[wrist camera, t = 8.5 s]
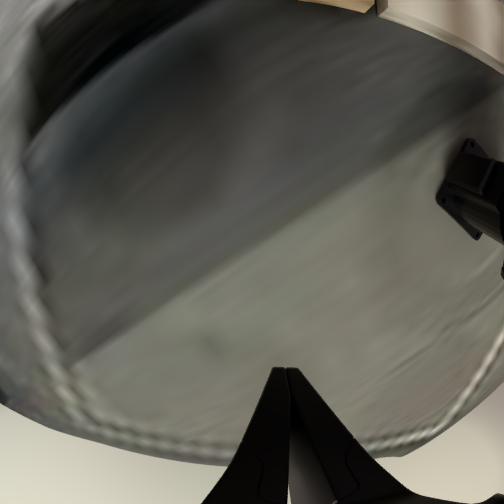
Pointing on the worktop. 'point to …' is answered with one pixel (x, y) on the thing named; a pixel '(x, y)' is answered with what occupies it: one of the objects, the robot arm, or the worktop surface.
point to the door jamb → (446, 22)
